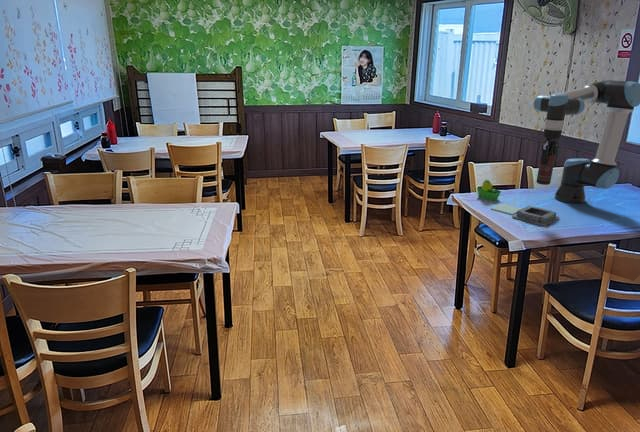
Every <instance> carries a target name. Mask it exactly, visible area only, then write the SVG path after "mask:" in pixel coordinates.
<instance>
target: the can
mask: <svg viewBox="0 0 640 432" xmlns="http://www.w3.org/2000/svg"><path fill="white" fill-rule="evenodd" d="M541 158H542V154H541V155H540V160H539V163H538V170H537V175H536V182H535V183H537V184H538V185H541V186H542V185H544V186H545V185H546V186H548V185H550V184H551V181H552V176H553V170H554V165H555V163H556V159H557V158H556V154H555V155H551V156H548V162H547V165H542V164H541Z"/></svg>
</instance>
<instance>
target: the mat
mask: <svg viewBox="0 0 640 432" xmlns="http://www.w3.org/2000/svg"><path fill="white" fill-rule="evenodd" d="M520 209H522V207H518V206H517V207H516V206H513V205H509V204H505V203H500V204H497V205H494V206H493V207H490V210H492V211H496V212H498V213H499V212H500V213H503V214H508V215H510V216H513V215H516V214H517V211H518V210H520Z"/></svg>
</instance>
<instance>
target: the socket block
mask: <svg viewBox="0 0 640 432" xmlns="http://www.w3.org/2000/svg"><path fill="white" fill-rule="evenodd" d="M521 208H522V207H521ZM511 216H512V219H516V220H520V221H523V222H526V223H530V224H533V225H534V224H535V225H537V226H541V227H544V226H545V227H547V226H549V225H550V223H551V224H552V222H553V223H554V222H556V221H558V220H560V216H557V212H556V211H555V212H554V211H553V210H549V209H545V208H541V207H537V206H531V205H527V206H525V207H523V208H522V209H520V210H518V211H517V213H516V214H513V215H511ZM548 224H549V225H548Z"/></svg>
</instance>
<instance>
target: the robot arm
mask: <svg viewBox="0 0 640 432" xmlns="http://www.w3.org/2000/svg"><path fill="white" fill-rule="evenodd" d="M592 103H594V104H595V103H596V104H597V103H598V104H605V105H606V109H607V111H608V113H607V116H606V120H605V123H604V127H603V130H602V133H601V137H600V140H599V141H600V142H599V145H598V147H597V150H596V154H595V158H593V159H591V161H590V159H588V158H580V157H579V158H569V159H566V160H565V162H564V165H563V169H562V174H561V180H560V185H559V187H558V188H557V190H556V192H555V194H554V198H555V200H556V201H560V202H564V203H570V204H583V203H585V202H586V192H585V186H589V187H592V188H597V189H600V190H608V189H610V188H612V187H613V186H614V185H615V184H616V183H617V181H618V179H619V177H620V171H619V169H618V168H617V165H618V164H617V163H616V161H615V160H616V157H617V153H618V150H619V146H620V143H621V141H622V136H623V133H624V130H625V126H626V123H627V119H628V117H629V114H630V113H631V112H633V111H634V109H635V107H638V106H639V105H640V82H638V81H632V80H613V79H612V80H611V79H608V80H601V81H597V82H591V83H588V84H585V85H583V86H582V87H581V88H577V89H572V90H568V91H564V92H558V93H554V94H553V93H552V94H550V95H538V96H537V97H535V99H534V101H533V108H534V110H535V111H538V112H541V113H546V117H545V120H544V129H543V132H542V137H544V138H545V141H544V144H541V155H542V158H541V157H540V159H541V164H542V165H547V162H548V156H551V155H555V156H556V153H557V148H558V146H559V142H557V141H558V140H557V139H560V138H561V137H562V134H563V133H562V132H563V130H562V129H563V128H564V122H565V117H566V116H576V115H580V114H581V113H582V112H584V110H585V107H586V104H592Z"/></svg>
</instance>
